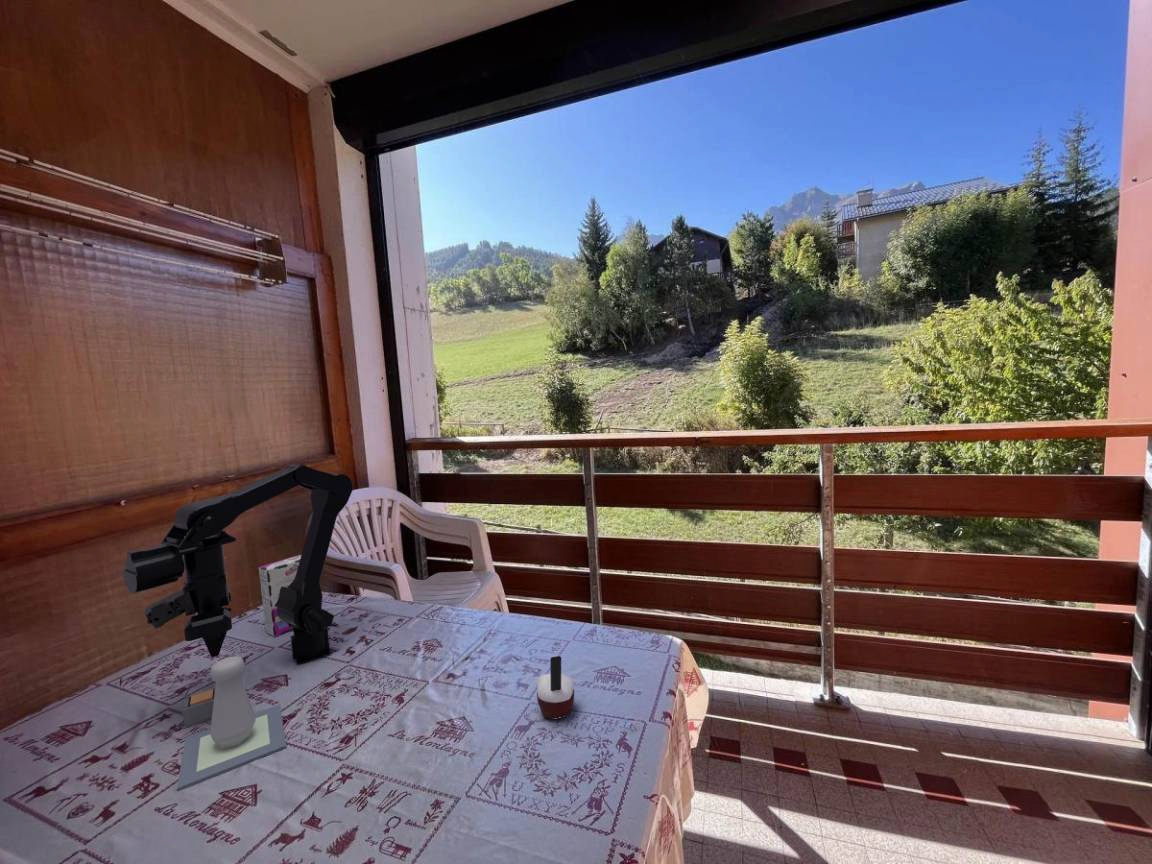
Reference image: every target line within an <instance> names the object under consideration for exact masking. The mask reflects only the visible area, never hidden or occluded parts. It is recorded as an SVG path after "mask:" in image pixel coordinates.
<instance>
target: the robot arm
mask: <svg viewBox="0 0 1152 864" xmlns="http://www.w3.org/2000/svg"><path fill="white" fill-rule="evenodd" d="M296 487H301V488H302V489H306V490H308V491H310V502H311V503H310V504H311V508H312V516H311V519H310V523H309V526H308V530H307V534H306V537H305V539H304V540H305V541H304V544H303V546H302V547H303V548H302V551H301V554H300V555H301V558H300V562H299V565H298V569H297V572H296V576H295V579H294V580H293V582H292V583H291V584H290V585H289V586H288V588H287V587H283V586H282V587H281V589H280V592H279V598H278V601H277V603H276V604H275V607H277V615H278V617H279V618H280V619H281V620H282V621H284V622H286V623H287V624H288V626H289V627H293V630H292V635H290V637H289V638H290V649H291V656H292V659H293V660H295V663H296V665H298V666H299V665H301V664H304V663H308V662H311V661H314V660H317V659H318V660H319V659H321V658H324V657H327V656H331V655H332V650H331V648H330V637H329V628H330V627H331V626H332V625H333V621H334V617H335V615H334V614H333V613H330V612H328V611H327V610H324V609H323V608H322V607H323V592H322V586H321V577H322V574H323V570H324V567H325V563H326V559H327V555H328V553H329V548H330V544H331V541H332V536H333V534H334V530H335V525H336V521H337V518H338V515H339V514H340V513H341V511H343V509H344V508H345V507H346V505H347V504H348V502H349V499H350V498H351V495H352V493H353V490H354V483H353V481H352V480H351V477H349V476H348V475H346V474H342V473H341V474H340V473H328V472H326V471H321V470H319V469H314V468H312V467H310V466H307V465H306V464H305V465H304V464H289V465H287V466H285V468H283V469H281V470H278V471H277V472H274V473H272V474H269V475H268V476H266V477H263V478H261V479H258V480H256V481H254V482H252V483H250V484H247V485H246V486H243V487H240V488H239V489H236V490H235V491H232V492H230V493H227V494H223V495H218V496H213V497H209V498H205V499H201V500H197V501H193V502H189V503H187V504H184V505H183V506H181V507H180V508H179V509H177V511H176V513H175V516H174V518H173V519H174V520H173V521H174V522H173V524H172V526H171V527H170V529H169V530H168V531H167V533H166V535H164V537H163V539H162V541H161V542H160V545H156V546H153V547H147V548H143V549H133V550H130V551H127V553H126V560H125V562H124V570H122V575H123V579H124V580H123V581H124V584H125V586H126V588H127V590H128V592H129V593H130V594H131V595H133V594H138V593H142V592H145V591H148V590H151V589H154V588H155V589H156V588H159V587H162V586H166V585H169V584H173V583H175V582H177V581H178V580H179V578H182V577H183V575H184V576H185V581H184V586H182V589H180V590H178V591H176V592H172V594H169V595H167V596H165V597H163V598H161V599H159V600H158V601H156V602H153V603H151V604H150V605H148V606H147V607H146V608H145V611H144V613H143V614H144V616H145V617H146V619H147V621H146V623H147V624H149V625H151V626H152V628H154V630H157V629H159V628H161V627H162V626H164V625H165V624H166V623H168V622H170V621H172V620H174V619H175V618H177V617H179V616H181V615H182V614H184V613H185V617H188V616H190V618H188V620H187V621H186V622H185V625H184V629H183V631H184V639H185V640H184V641H185V642H192V641H196V640H199V639H202V640H203V642H204V644H205V646H206V649H207V651H208V653H209V655H210V658H214V657H218V656H219V655H220V653H221V650H222V647H223V644H224V641H225V638H226V635H227V632H229V631H230V630H232V629H233V624H232V623H233V621H232V608H230V607H229V608H227V607H225V606H229V605H230V602H232V593H231V588H230V587H229V586H228V582H227V581H228V580H227V570H226V563H225V561H226V560H225V554H224V545H226V544H230V543H234V542H236V541H237V538H236V537H234V536H232V535H230V534H228V533H227V532H226V530H224V529H226V528H227V527H229V526H230V525H232V524H233V523H234V522H235V521H237V519H238V518H239V517H240V516H241V515H243V514H244V513H245V512H246V511H248V510H251V509H253V508H255V507H257V506H259V505H262V504H263V503H266V502H267V501H269V500H271V499H273V498H275V497H277V496H280V495H281V494H283V493H285V492H288V491H290V490H292V489H294V488H296ZM191 615H192V616H191Z"/></svg>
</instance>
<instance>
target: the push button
mask: <svg viewBox="0 0 1152 864" xmlns="http://www.w3.org/2000/svg"><path fill="white" fill-rule="evenodd" d="M211 689H212V688H211ZM208 690H209V689H208ZM204 691H205V692H202V691H201V692H202V693H199V692H198V693H199V694H196V693H195V694H196V695H193V694H192V695H193V696H191V701H190V706H193V705H196V704H199V703H202V702H206V701H209V700H212V699H214V694H213V689H212V690H209V691H206V690H204Z"/></svg>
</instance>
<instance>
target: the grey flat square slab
mask: <svg viewBox="0 0 1152 864" xmlns="http://www.w3.org/2000/svg"><path fill="white" fill-rule="evenodd" d="M254 715H255V717H256V720H255V723H254V725H253V728H252V731H251V734H250V737H249V739H247V740H246V741H244V742H243V743H242V744H240V745H239V746H237V747H233V748H229V749H225V750H223V749H222V748H221V747H219V746H218V745H217V744H216V743H215V742H214V741H213V740H212V737H211V734H210V730H211V728H208V729H205V730H202V731H200V732H197V733H194V734H191V735H188V736H185V738H184V745H183V751H182V756H181V762H180V769H179V775H178V780H177V786H176V790H177V791H182V790H184V789H186V788H189V787H191V786H193V785H196V784H200V783H202V782H203V781H204V782H205V781H206V780H209V779H211V778H214V777H216V776H217V777H218V776H220V775H221V774H224V773H227V772H229V771H232V770H235V769H237V768H240V767H241V766H244V765H247V764H249V763H252V762H255V761H257V760H259V759H261V758H264V757H267V756H270V755H271V754H274V753H277V752H279V751H282V750H284V749H286V748H287V744H286V737H285V729H284V722H283V717H282V709H281V704H276V705H274V706H272V707H271V706H270V707H268V708H266V709H263V710H260V711H257V712H254Z"/></svg>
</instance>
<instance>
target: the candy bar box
mask: <svg viewBox="0 0 1152 864" xmlns="http://www.w3.org/2000/svg"><path fill="white" fill-rule="evenodd" d="M300 558H301V554H299V555H295V556H291V557H288V558H285V559H281V560H278V561H275V562H272V563H268V564H265V565H262V566H258V575H259V581H260V582H259V583H260V591H261V599H262V600H261V601H262V610H263V618H264V619H263V620H264V628H265V634H267V635H269V636H272V637H273V638H277V637H279V636H281V635H284V634H286V632H287V633H289V632H291V630H292V631H293V627H289V626H288V624H287V623H286V622H284V621H282V620H281V619H280V618H279V617H278V615H277V607H275V604H276V603H277V601H278V598H279V592H280V589H281V587H282V586H283V587H287V588H288V586H289V585H290V584H291V583H292V582H293V580H294V579H295V576H296V572H297V569H298V565H299V562H300Z"/></svg>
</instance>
